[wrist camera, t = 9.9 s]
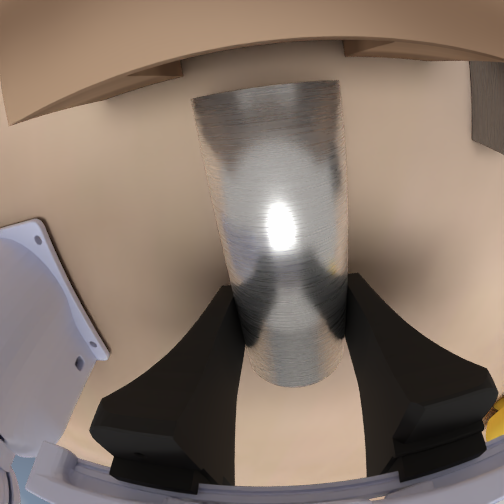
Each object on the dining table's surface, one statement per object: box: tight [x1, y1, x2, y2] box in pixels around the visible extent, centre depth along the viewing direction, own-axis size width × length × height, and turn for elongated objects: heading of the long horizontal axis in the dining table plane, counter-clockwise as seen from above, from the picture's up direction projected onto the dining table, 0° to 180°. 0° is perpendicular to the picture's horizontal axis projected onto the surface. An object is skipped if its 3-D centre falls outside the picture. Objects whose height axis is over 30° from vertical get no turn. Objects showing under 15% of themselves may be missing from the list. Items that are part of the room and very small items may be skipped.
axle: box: [191, 80, 348, 387], centre depth 10 cm, size 10×4×4 cm, turn 9°
